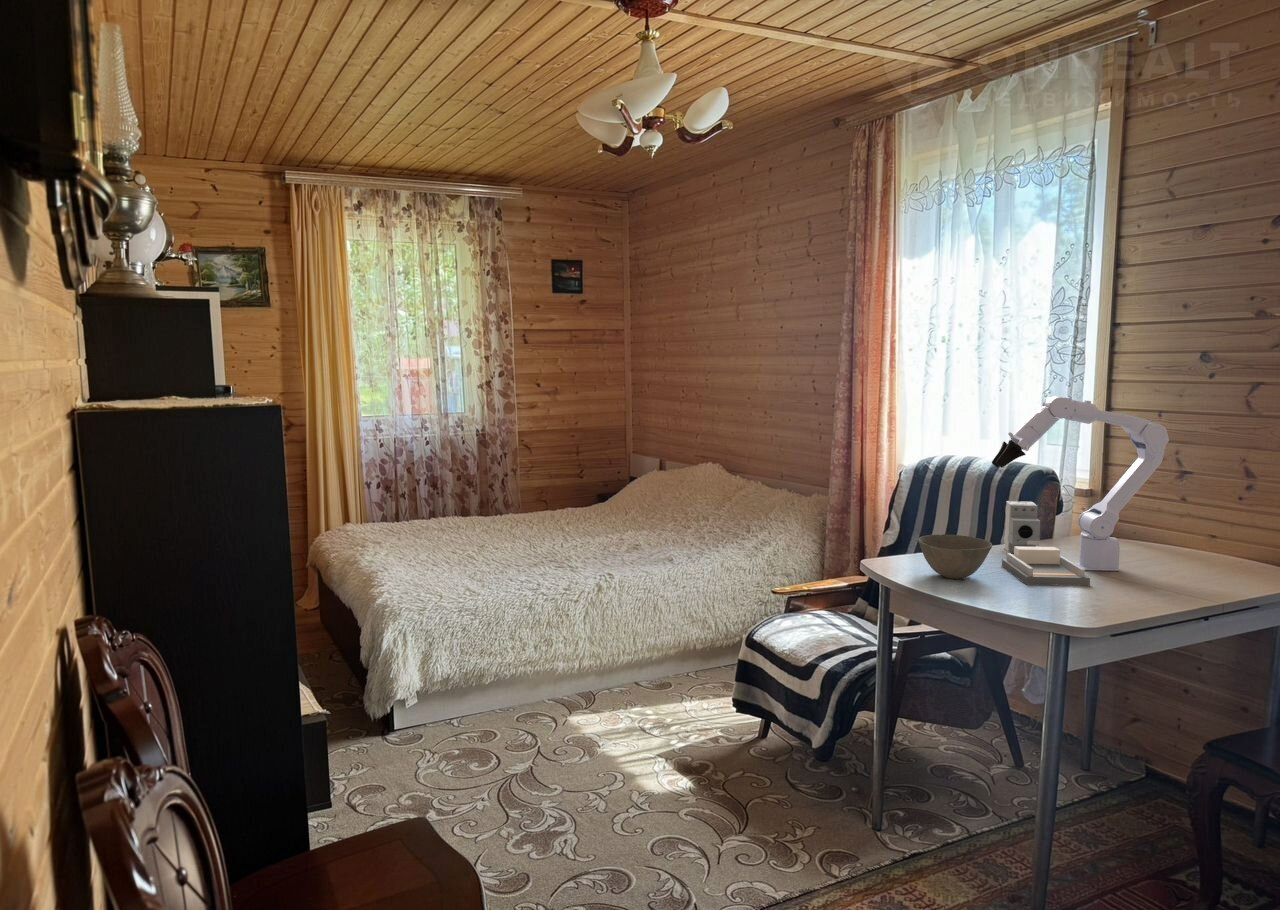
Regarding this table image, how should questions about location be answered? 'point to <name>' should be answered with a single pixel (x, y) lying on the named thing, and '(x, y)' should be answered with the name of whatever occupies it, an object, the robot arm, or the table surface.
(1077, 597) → the table surface
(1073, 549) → the table surface
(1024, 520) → the circuit breaker
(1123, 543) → the table surface
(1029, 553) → the breaker toggle
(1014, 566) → the grey shallow rectangular tray
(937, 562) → the bowl
